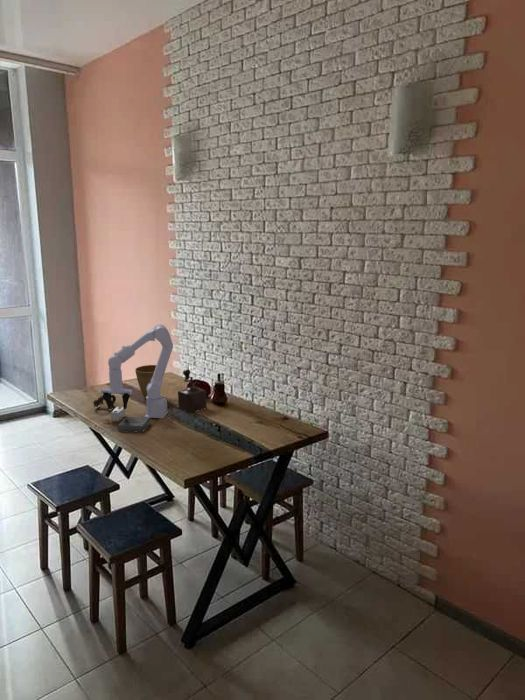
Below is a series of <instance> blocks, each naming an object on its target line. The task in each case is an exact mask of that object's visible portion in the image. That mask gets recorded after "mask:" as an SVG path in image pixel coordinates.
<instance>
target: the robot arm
mask: <svg viewBox="0 0 525 700" xmlns="http://www.w3.org/2000/svg"><path fill="white" fill-rule="evenodd" d="M153 341H154V342H155V341H158V342H159V343H160V345H161V346H162V347H161V350H160V353H159V356H158V360H157V362H156V364H155V365H156V368H155V371H154V374H153V377H152V379H151V381H150V383H149V384H148V385H147V388H146V389H147V397H146V398H145V401H146V413H145V415H144V417H147V418H150V419H151V418H153V419H164V418H165V417H166V416H167V414H169V412H168V401H167V398H166V397H162V395H161V389H160V388H162V385H161V384H163V379H164V375H165V372H166V371H167V370H166V369H167V368H168V367H167V366H168V364H169V361H170V358H171V354H172V351H173V350H174V349H173V348H174V343H173V340H172V337H171V334H170V332H169V330H168V329H167V327H166V326H165V325H164V324H157V325H155V326H154V327H152V328H150V329H149V330H147V331H146V332H145V333H144V334H142V335H141V336H140V337H138V339H136V340H135V341H134V342H132V344H127V345H122V347H121V348H120V350H118V351H117V352H114V353H113V355H111V356H110V357H109V358H108V361H107V364H108V370H109V371H108V376H109V378H108V379H109V388H101V389H100V394H102V395H101V396H103V398H104V399H105V400H104V401H105V403H106V405H107V409H108V410H109V409H110V408H111V400H112V398H111V395H121V397H122V398H121V399H122V403H123V405H122V407H123V408H124V409H125V410H126V409H127V408H128V402H129V399H130V397H131V395H132V394H133V389H129V388H128V389H127V388H123V387H124V386H123V375H122V372H123V371H122V368H121V367H122V364H124V363H126V361H128V360H129V359H131V358H132V357H133V356H134V355H136V351H137V350H138V349H139V348H141V347H142V346H143V345H145V344H146V343H148V342H153Z"/></svg>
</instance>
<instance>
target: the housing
mask: <svg viewBox="0 0 525 700" xmlns="http://www.w3.org/2000/svg"><path fill="white" fill-rule="evenodd" d="M109 413H110V421H111V420H120V419H121V418H122V417H123V416H124V415H125V416H126V409H124V408H123V406H116V407H115V408H114V409H113V410H111V411H109ZM123 418H124V417H123ZM123 418H122V419H123ZM122 419H121V420H122ZM121 420H120V421H121Z"/></svg>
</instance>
